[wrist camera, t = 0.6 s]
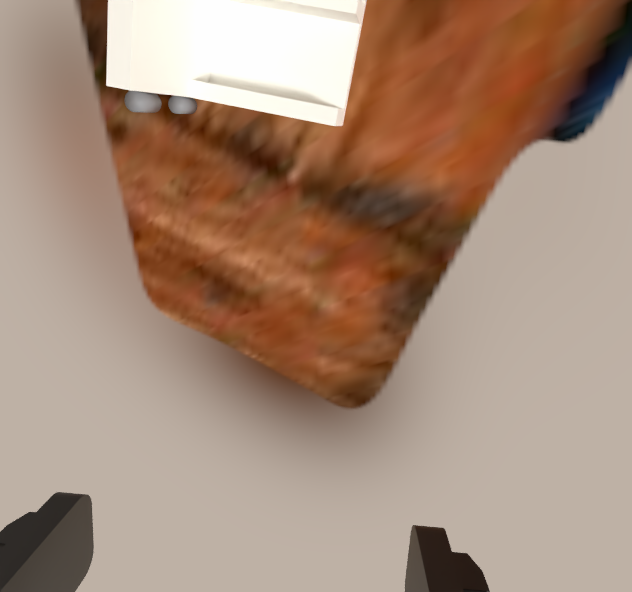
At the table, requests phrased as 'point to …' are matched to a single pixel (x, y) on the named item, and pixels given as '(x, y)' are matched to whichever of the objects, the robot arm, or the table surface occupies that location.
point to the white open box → (236, 54)
